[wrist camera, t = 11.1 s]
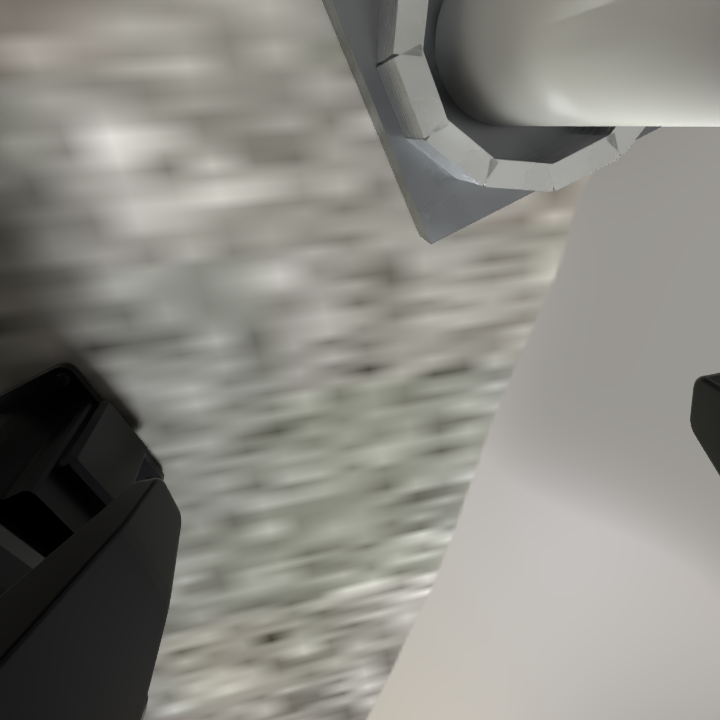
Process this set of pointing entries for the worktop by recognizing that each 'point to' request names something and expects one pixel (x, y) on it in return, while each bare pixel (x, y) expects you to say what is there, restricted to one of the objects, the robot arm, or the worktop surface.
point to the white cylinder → (582, 61)
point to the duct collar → (453, 124)
